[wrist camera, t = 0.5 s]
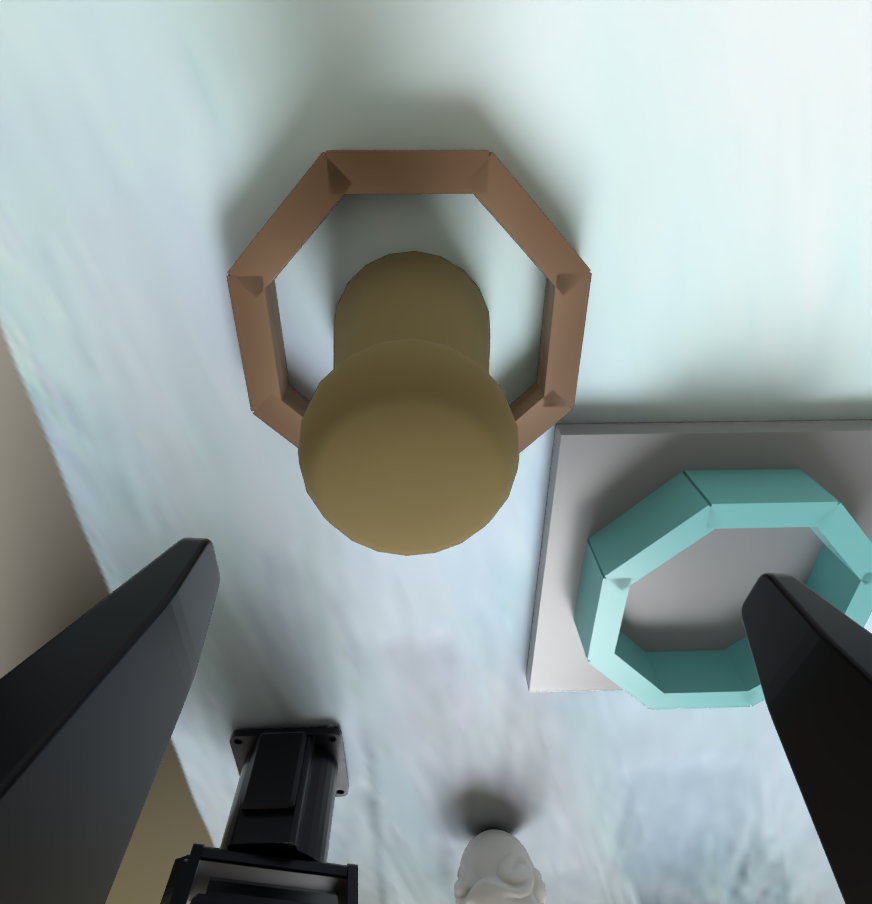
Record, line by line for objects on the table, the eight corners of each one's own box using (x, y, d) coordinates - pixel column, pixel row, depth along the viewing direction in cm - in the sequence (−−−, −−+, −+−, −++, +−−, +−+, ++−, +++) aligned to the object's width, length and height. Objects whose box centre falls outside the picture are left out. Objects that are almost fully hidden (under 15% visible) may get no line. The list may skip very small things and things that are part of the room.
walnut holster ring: (555, 468, 24) (563, 486, 23) (273, 473, 24) (265, 492, 23) (594, 150, 18) (608, 150, 17) (219, 150, 18) (203, 150, 17)
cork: (309, 277, 20) (211, 399, 10) (470, 230, 19) (522, 315, 10) (363, 420, 23) (325, 618, 13) (504, 383, 22) (570, 563, 13)
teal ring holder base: (803, 670, 32) (844, 726, 29) (526, 677, 31) (537, 735, 28) (924, 419, 24) (998, 459, 21) (555, 424, 23) (576, 466, 20)
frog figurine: (469, 866, 42) (478, 990, 35) (436, 821, 38) (439, 949, 32) (546, 849, 41) (569, 973, 35) (519, 801, 37) (539, 928, 31)
